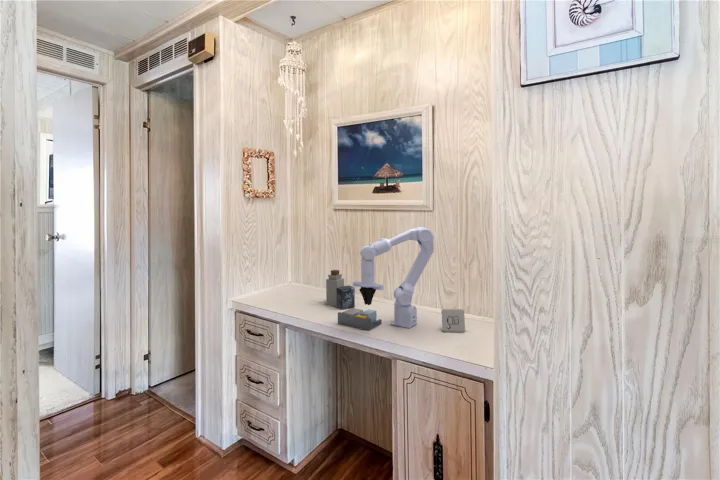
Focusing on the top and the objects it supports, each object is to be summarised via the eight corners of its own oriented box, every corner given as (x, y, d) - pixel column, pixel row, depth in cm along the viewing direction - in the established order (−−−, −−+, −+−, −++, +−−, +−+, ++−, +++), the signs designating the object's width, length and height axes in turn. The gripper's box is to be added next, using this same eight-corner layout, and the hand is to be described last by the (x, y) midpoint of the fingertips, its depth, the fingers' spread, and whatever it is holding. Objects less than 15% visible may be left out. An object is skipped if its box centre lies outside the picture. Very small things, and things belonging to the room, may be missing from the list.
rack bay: (381, 323, 164) (381, 311, 164) (369, 330, 156) (369, 318, 155) (350, 317, 174) (350, 306, 173) (337, 323, 165) (337, 311, 164)
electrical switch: (442, 332, 154) (442, 310, 154) (440, 329, 159) (440, 307, 159) (465, 332, 153) (465, 310, 153) (462, 329, 158) (462, 307, 158)
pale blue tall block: (376, 323, 165) (376, 310, 164) (368, 328, 159) (368, 314, 159) (368, 322, 167) (368, 309, 167) (360, 326, 161) (360, 313, 161)
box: (342, 310, 185) (341, 289, 184) (336, 307, 190) (336, 287, 189) (355, 307, 190) (354, 287, 189) (349, 304, 194) (349, 285, 193)
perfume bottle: (344, 303, 197) (344, 270, 195) (337, 306, 191) (336, 272, 189) (334, 301, 201) (333, 268, 199) (326, 304, 195) (325, 270, 193)
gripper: (348, 273, 161) (349, 303, 163) (377, 277, 153) (377, 309, 155) (357, 270, 167) (358, 300, 168) (385, 274, 159) (385, 305, 161)
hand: (368, 304), depth 162 cm, fingers closed
